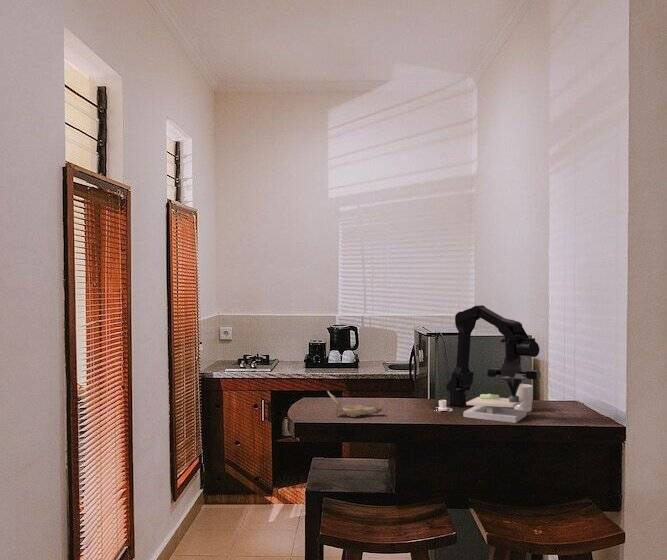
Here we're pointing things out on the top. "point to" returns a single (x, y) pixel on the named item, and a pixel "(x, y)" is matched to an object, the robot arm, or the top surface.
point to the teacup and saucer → (443, 406)
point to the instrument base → (495, 413)
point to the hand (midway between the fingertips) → (514, 396)
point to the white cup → (525, 397)
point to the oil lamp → (353, 408)
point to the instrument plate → (495, 401)
